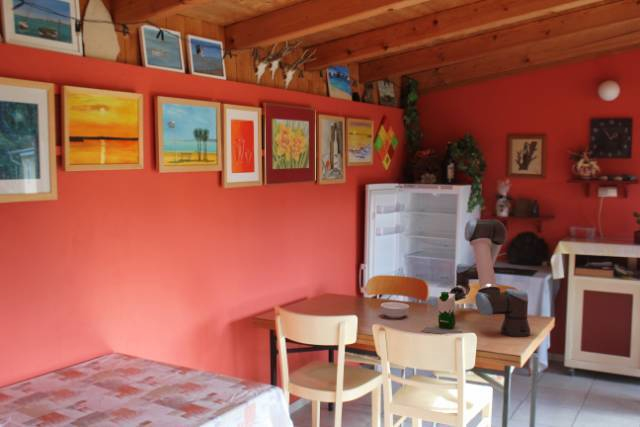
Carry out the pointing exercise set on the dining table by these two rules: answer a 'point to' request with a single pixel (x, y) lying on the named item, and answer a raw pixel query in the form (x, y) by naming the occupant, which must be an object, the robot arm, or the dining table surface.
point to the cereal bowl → (394, 309)
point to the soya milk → (446, 310)
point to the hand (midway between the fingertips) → (446, 300)
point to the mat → (439, 330)
